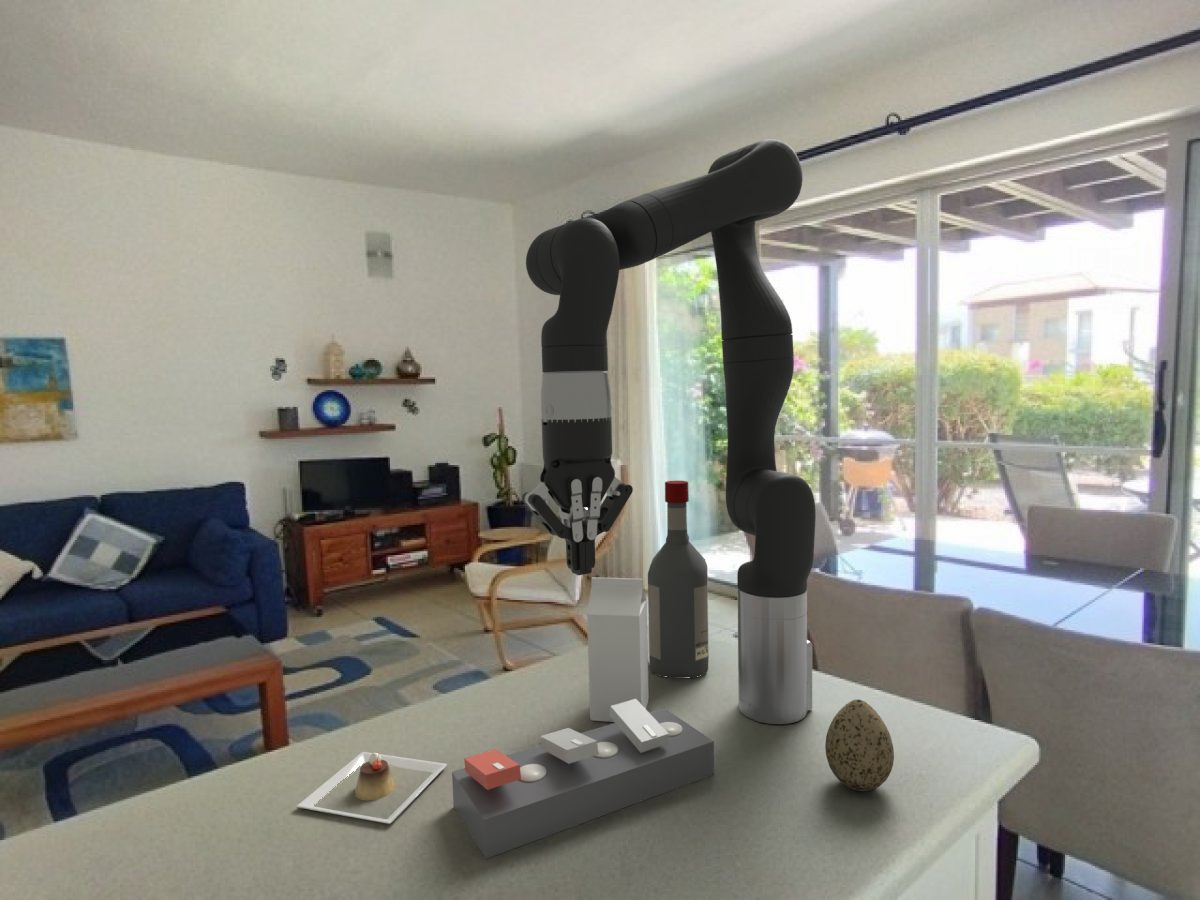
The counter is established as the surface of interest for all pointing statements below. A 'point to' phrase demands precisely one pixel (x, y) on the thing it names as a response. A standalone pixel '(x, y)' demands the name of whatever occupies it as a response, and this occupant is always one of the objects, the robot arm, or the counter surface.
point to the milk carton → (616, 645)
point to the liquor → (678, 596)
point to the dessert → (373, 782)
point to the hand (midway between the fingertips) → (581, 572)
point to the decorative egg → (859, 747)
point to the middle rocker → (569, 745)
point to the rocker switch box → (579, 784)
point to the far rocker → (638, 725)
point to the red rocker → (492, 769)
